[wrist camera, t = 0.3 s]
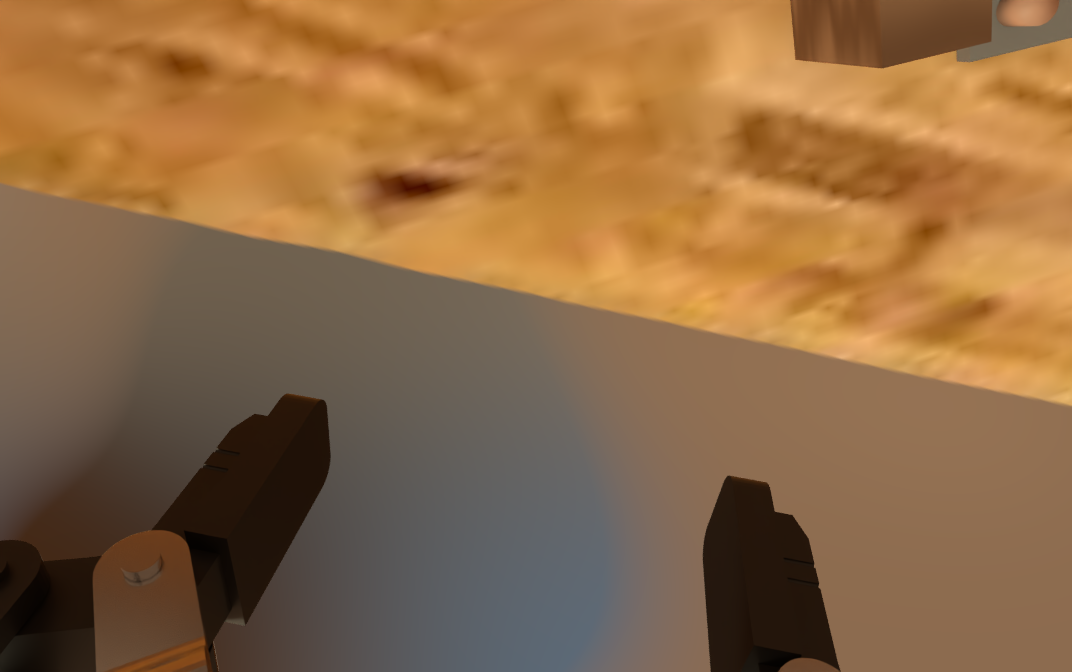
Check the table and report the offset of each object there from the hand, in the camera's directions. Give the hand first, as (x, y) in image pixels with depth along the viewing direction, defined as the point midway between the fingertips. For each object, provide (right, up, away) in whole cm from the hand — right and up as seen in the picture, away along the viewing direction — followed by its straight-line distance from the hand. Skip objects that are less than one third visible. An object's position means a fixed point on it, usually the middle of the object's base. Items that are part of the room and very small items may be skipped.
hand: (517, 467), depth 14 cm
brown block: (+15, +19, +21) cm, 32 cm away
